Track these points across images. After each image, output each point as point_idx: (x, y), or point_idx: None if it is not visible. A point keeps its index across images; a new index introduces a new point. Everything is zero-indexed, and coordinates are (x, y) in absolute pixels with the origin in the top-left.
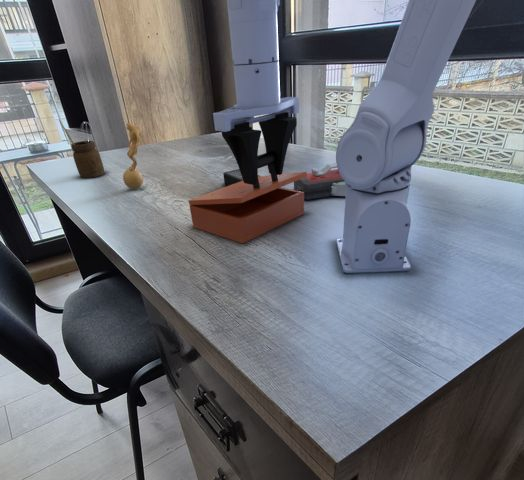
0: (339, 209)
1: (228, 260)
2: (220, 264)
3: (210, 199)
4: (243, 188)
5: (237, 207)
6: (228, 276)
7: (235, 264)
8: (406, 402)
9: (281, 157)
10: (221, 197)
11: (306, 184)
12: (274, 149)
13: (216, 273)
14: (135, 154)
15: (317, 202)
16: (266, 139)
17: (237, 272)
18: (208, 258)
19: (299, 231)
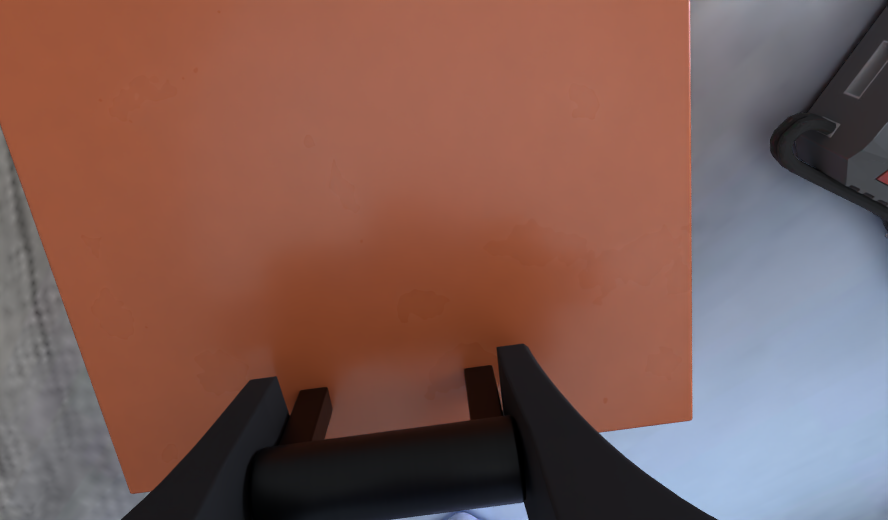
0: (741, 338)
1: (88, 391)
2: (49, 396)
3: (45, 247)
4: (307, 267)
5: None
6: (45, 466)
7: (99, 425)
8: None
9: (527, 514)
10: (99, 315)
11: (848, 175)
12: (535, 508)
13: (13, 433)
14: None
15: (787, 208)
16: (546, 508)
17: (82, 464)
18: (21, 335)
19: None
